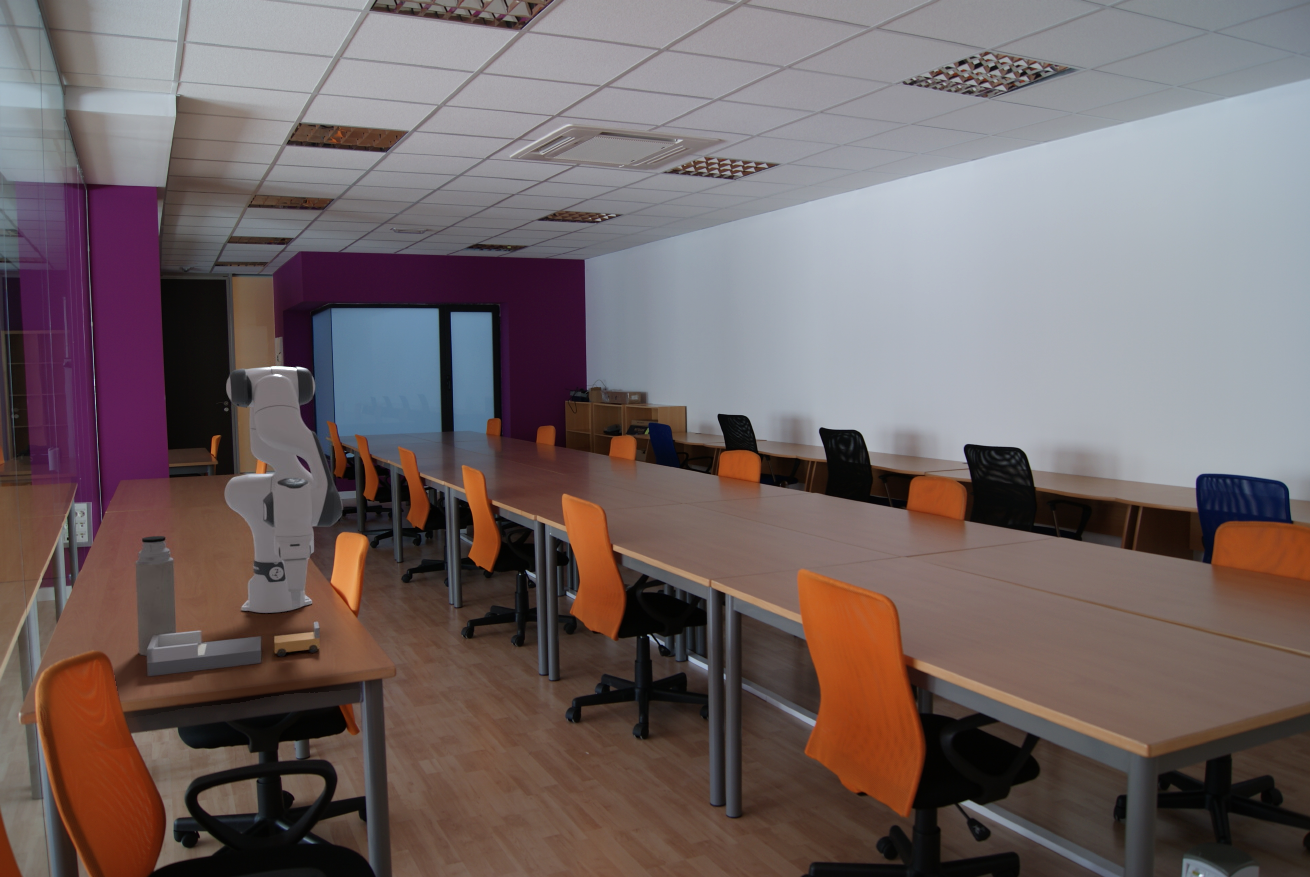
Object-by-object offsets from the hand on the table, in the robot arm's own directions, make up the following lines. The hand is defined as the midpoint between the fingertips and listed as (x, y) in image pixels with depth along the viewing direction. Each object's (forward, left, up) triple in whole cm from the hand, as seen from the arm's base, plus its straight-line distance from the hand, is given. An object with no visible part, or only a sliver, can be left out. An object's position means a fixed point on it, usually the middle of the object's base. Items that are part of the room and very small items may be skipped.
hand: (295, 602), depth 210 cm
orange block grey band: (0, 0, -12) cm, 12 cm away
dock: (0, -19, -12) cm, 23 cm away
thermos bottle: (-14, -31, -12) cm, 36 cm away
